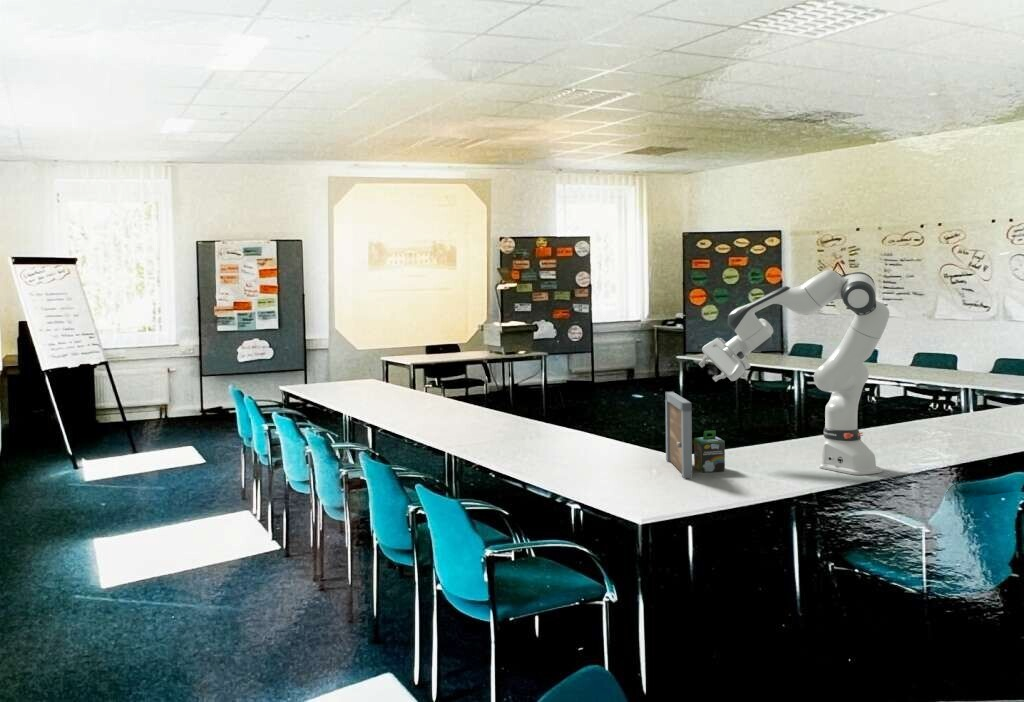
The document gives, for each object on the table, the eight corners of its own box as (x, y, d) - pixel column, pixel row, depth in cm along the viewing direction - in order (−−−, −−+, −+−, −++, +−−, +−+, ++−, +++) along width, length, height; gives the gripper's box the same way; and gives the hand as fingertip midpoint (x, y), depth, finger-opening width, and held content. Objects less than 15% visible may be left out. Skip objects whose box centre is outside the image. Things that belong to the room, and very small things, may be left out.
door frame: (673, 459, 321) (672, 391, 319) (692, 478, 289) (691, 402, 287) (666, 460, 321) (665, 391, 319) (683, 478, 289) (682, 403, 287)
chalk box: (717, 466, 308) (716, 427, 307) (725, 471, 299) (725, 431, 298) (693, 467, 307) (692, 428, 306) (701, 472, 298) (701, 432, 297)
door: (674, 460, 316) (673, 402, 315) (687, 474, 293) (687, 411, 291) (666, 461, 316) (665, 402, 314) (679, 474, 293) (678, 411, 291)
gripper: (717, 331, 323) (689, 353, 323) (748, 360, 308) (719, 383, 308) (722, 340, 327) (694, 361, 328) (753, 369, 312) (724, 392, 313)
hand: (706, 372), depth 318 cm, fingers open, 8 cm apart
